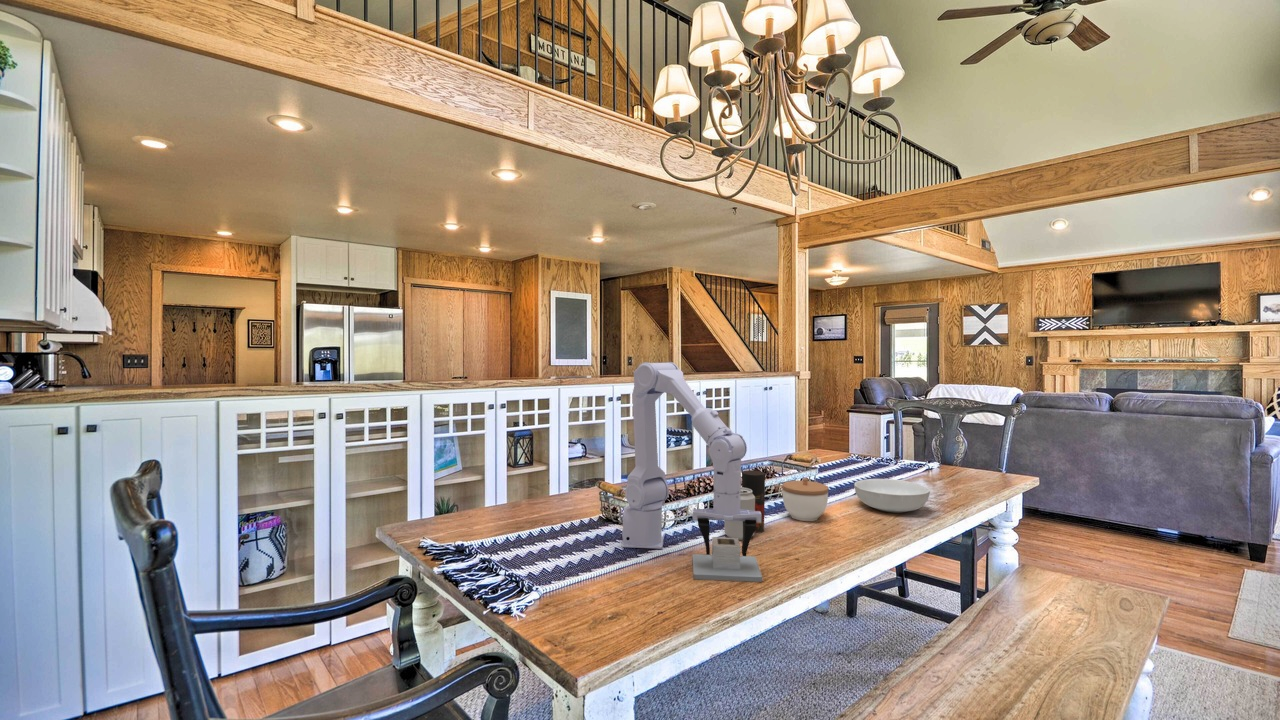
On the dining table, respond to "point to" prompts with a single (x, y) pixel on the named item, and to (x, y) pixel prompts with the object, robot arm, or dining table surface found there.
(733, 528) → the can
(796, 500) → the lidded bowl
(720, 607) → the dining table surface
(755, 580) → the post block
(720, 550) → the collar
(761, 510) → the deodorant
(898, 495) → the serving bowl
